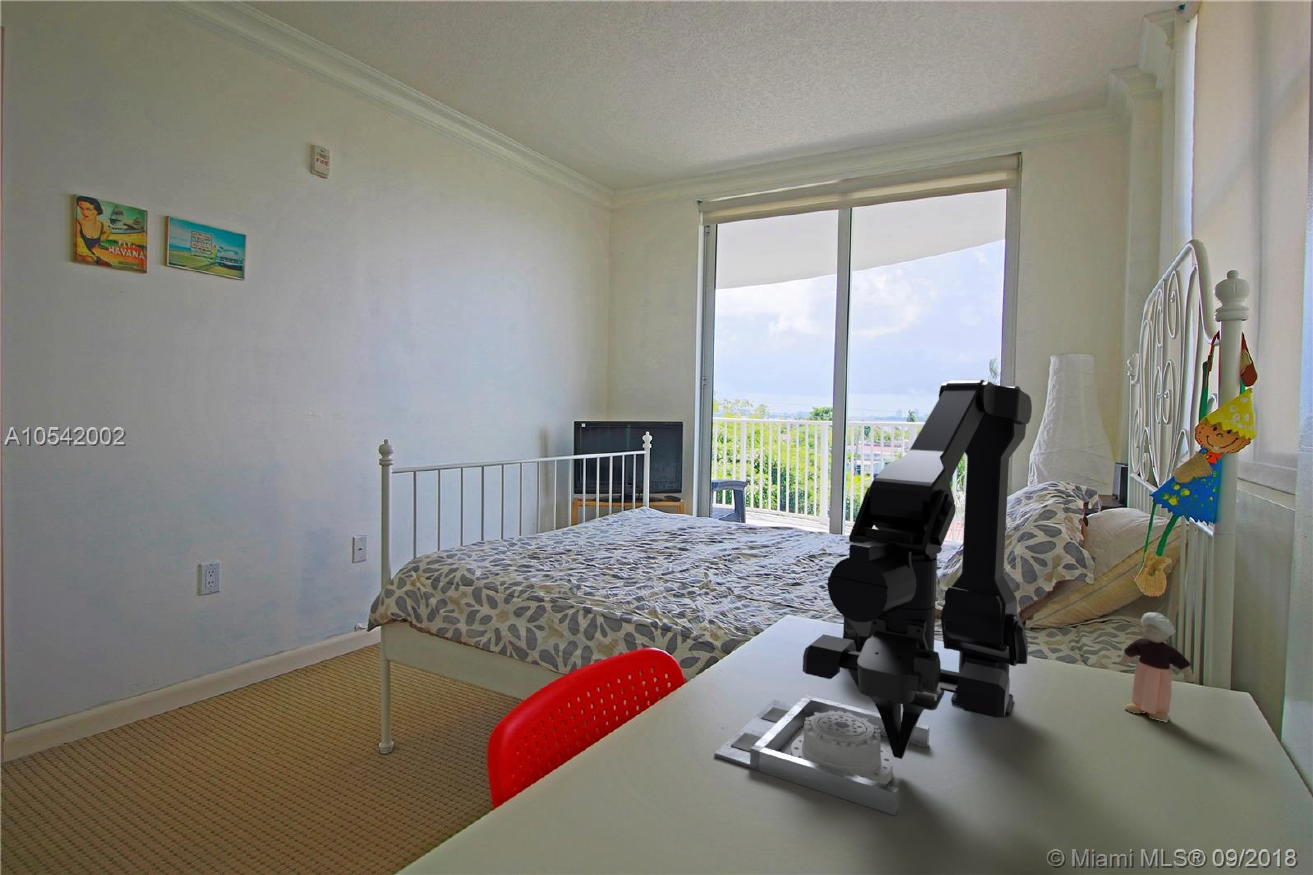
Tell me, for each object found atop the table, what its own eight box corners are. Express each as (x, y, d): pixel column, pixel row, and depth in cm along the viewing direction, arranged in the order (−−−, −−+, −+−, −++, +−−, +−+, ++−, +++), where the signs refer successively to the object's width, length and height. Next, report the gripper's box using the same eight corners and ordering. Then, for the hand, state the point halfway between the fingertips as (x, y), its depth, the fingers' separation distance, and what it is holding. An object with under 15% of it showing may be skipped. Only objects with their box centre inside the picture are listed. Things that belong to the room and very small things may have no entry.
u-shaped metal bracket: (774, 703, 83) (774, 687, 83) (928, 744, 73) (929, 726, 73) (714, 756, 69) (714, 737, 69) (894, 815, 60) (895, 793, 59)
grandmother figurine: (1112, 710, 83) (1117, 609, 83) (1118, 701, 86) (1122, 603, 86) (1191, 731, 78) (1196, 623, 77) (1194, 721, 81) (1200, 617, 80)
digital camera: (833, 659, 99) (835, 612, 99) (871, 661, 98) (873, 614, 98) (848, 687, 89) (850, 634, 88) (890, 689, 88) (892, 637, 88)
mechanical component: (789, 786, 64) (898, 802, 62) (791, 741, 64) (900, 755, 62) (791, 738, 74) (886, 750, 72) (792, 699, 74) (887, 710, 72)
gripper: (785, 603, 65) (780, 763, 65) (1001, 642, 55) (994, 829, 55) (822, 581, 74) (818, 721, 75) (1013, 611, 64) (1006, 771, 65)
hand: (898, 756), depth 67 cm, fingers closed
